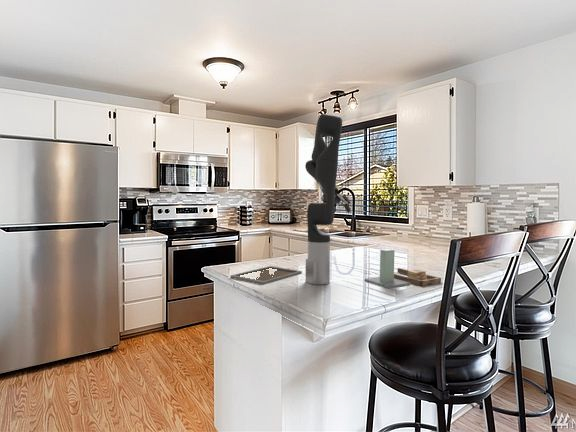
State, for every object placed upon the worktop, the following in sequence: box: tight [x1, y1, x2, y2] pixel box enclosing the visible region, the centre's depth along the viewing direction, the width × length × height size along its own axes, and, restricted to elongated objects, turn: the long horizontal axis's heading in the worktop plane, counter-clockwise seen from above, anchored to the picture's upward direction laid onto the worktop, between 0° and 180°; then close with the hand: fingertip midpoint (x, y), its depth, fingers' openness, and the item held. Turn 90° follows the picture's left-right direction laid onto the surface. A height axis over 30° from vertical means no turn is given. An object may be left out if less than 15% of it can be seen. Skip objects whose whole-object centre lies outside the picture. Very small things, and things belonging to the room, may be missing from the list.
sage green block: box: [379, 248, 395, 282], centre depth 148 cm, size 5×3×13 cm, turn 120°
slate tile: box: [364, 276, 411, 289], centre depth 149 cm, size 12×14×1 cm
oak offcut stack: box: [407, 268, 428, 280], centre depth 152 cm, size 7×5×4 cm
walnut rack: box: [394, 267, 442, 287], centre depth 156 cm, size 12×23×2 cm, turn 30°
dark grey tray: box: [229, 265, 303, 286], centre depth 161 cm, size 19×2×30 cm
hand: (342, 211), depth 169 cm, fingers open, 8 cm apart
